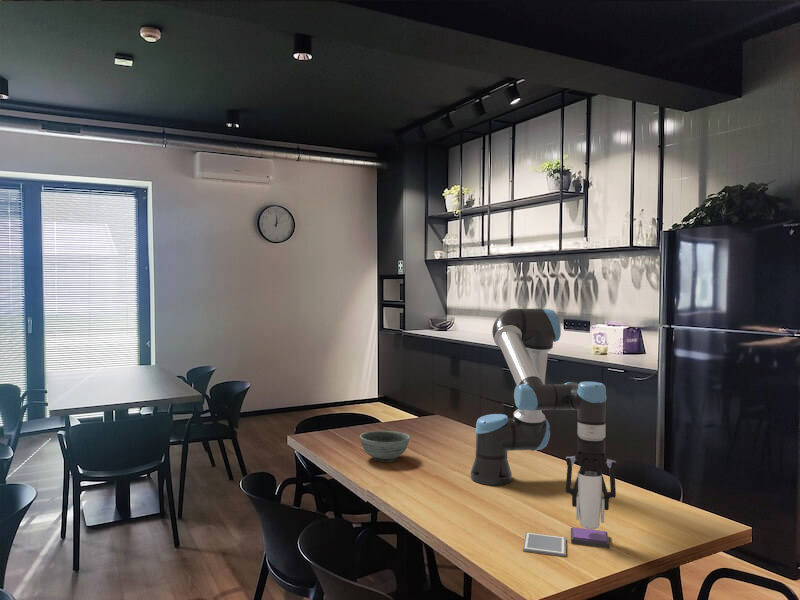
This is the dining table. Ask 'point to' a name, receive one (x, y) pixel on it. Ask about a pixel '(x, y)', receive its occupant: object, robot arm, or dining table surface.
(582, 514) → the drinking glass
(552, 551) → the plate
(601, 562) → the dining table surface
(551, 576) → the dining table surface
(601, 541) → the ink pad
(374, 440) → the bowl
